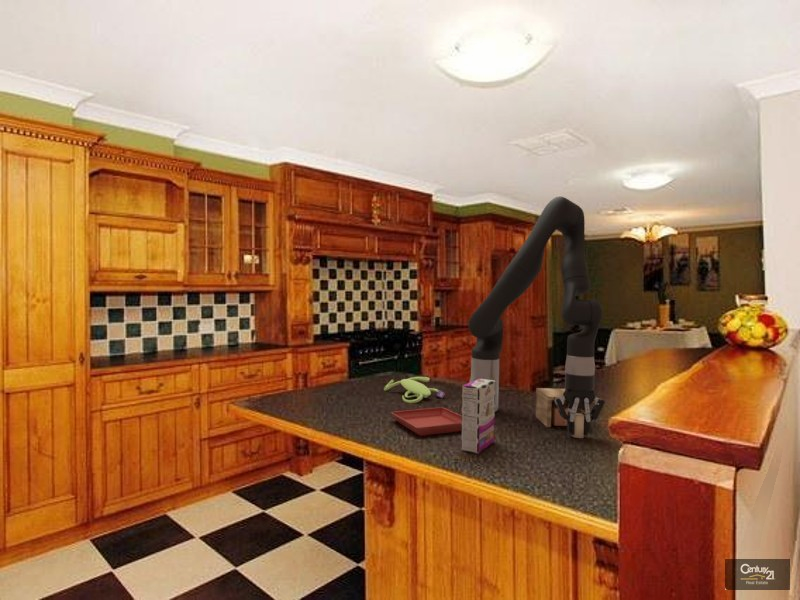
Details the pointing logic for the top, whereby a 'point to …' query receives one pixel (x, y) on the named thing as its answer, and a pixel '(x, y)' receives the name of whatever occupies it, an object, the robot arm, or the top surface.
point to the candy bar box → (478, 415)
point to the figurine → (415, 388)
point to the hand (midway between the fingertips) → (578, 434)
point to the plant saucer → (429, 420)
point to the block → (560, 421)
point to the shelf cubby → (547, 403)
